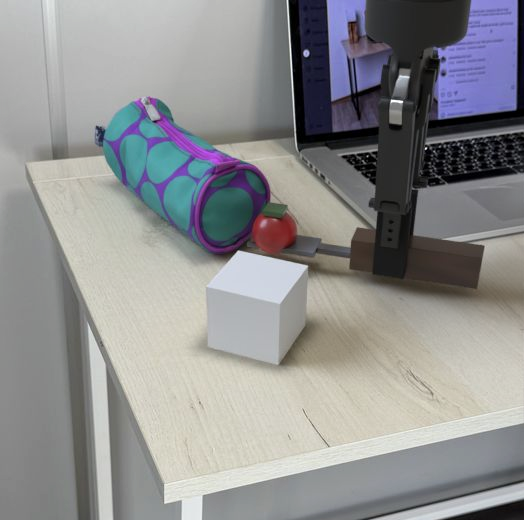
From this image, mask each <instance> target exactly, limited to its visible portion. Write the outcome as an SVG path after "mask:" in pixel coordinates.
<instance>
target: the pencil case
mask: <svg viewBox="0 0 524 520" xmlns="http://www.w3.org/2000/svg"><path fill="white" fill-rule="evenodd" d="M94 144H95V145H96V146H97V147H99V148H102V150H103V155H104V159H105V162H106V164H107V165H108V167H109V168H110V170H111V171H112V173H113V174H114V176H115V177H116V178H117V179H118V181H119V182H120V183H121V184H122V185H124V186H125V187H126V188H127V189H128V190H129V192H131V193H132V194H133V195H135V196H136V197H137V198H138V199H140V200H141V202H143V203H145V205H147V206H148V207H149V208H150V209H151V210H152V211H153V212H154V213H156V214H157V215H158V216H160V218H162V219H163V220H165V221H166V222H168V223H169V224H170V225H171V226H173V227H174V228H176V229H177V230H179V231H180V232H181V233H182V234H183V235H185V236H186V237H188V238H190V239H191V241H192V242H194V243H195V244H198V245H199V246H200V247H201V248H202V249H204V250H205V251H206V252H209V253H212V254H218V255H225V254H228V253H231V252H233V251H235V250H237V249H238V248H240V247H241V246H242V245H243V244H244V243H245V242H246V241H247V240H248V239H249V238H251V236H252V228H253V224H254V222H255V220H256V218H257V217H258V216H259V215H260V214H261V213H262V211H263V209H264V208H265V206H266V205H267V203H268V202H271V199H272V198H271V197H272V196H271V193H272V192H271V186H270V183H269V181H268V179H267V178H266V176H265V174H264V173H263V172H262V170H260V169H259V168H258V167H257V166H256V165H254V164H252V163H250V162H248V161H245V160H242V159H240V158H237V157H233V156H231V155H230V154H229V153H227V152H223V151H221V150H219V149H217V148H216V147H214V146H213V145H212V144H211V143H209V142H207V141H206V140H205V139H204V138H202V137H200V136H197V135H195V134H194V133H192V132H190V131H189V130H187V129H185V128H183V127H181V126H180V125H178V124H176V123H175V120H174V117H173V115H172V112H171V109H170V108H169V106H168V105H167V104H165V102H163V101H162V100H161V99H159V98H157V97H150V96H147V95H144V96H143V97H142V98H141V97H140V98H138V100H135V101H134V100H132V101H131V102H129V103H128V104H127V105H124V106H123V107H122V108H120V109H119V110H118V111H116V112H115V114H114V115H113V116H112V118H111V120H110V121H109V123H108V125H107V127H106V126H104V125H101V126H100V125H95V127H94Z"/></svg>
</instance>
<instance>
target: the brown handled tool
mask: <svg viewBox="0 0 524 520" xmlns="http://www.w3.org/2000/svg"><path fill="white" fill-rule="evenodd" d="M288 205H289V204H284V203H276V202H271V201H270V202H268V203H267V205H266V206H265V208H264V209H263V211H262V213H261V214H260V215H259V216H258V217H257V218H256V220H255V222H254V224H253V228H252V235H251V236H250V240H248V241H247V242H246V247H248V248H254V249H259V250H261V251H262V252H264V253H266V254H269V255H280V254H285V255H291V256H292V255H293V256H298V257H299V256H300V257H306V258H312V259H313V258H314V259H315V257H316V254H317V255H318V254H319V255H324V256H331V257H336V258H337V257H338V258H343V259H349V263H348V264H349V265H348V270H350V271H357V272H363V273H369V274H372V269H373V258H374V246H375V234H376V229H373V228H365V227H359V226H358V227H356V229H355V230H354V232H353V234H352V237H351V239H350V246H344V245H337V244H331V243H324V242H322V241H323V239H322V238H321V237H314V236H308V235H300V234H298V226H297V223H296V221H295V218H294V217H293V216H292V215H291V214H290V213H289V212H287V211H288V207H289V206H288ZM485 247H486V246H485V244H478V243H471V242H463V241H457V240H449V239H443V238H435V237H428V236H420V235H415V234H413V235H409V242H408V251H407V260H406V269H405V276H404V279H408V280H415V281H421V282H426V283H434V284H440V285H447V286H453V287H458V288H459V287H460V288H464V289H465V288H467V289H472V290H473V289H474V290H477V289H478V287H479V281H480V276H481V271H482V265H483V259H484V254H485Z"/></svg>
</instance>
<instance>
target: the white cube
mask: <svg viewBox="0 0 524 520" xmlns="http://www.w3.org/2000/svg"><path fill="white" fill-rule="evenodd" d="M308 280H309V265H308V264H303V263H298V262H293V261H288V260H284V259H279V258H275V257H271V256H267V255H261V254H257V253H251V252H247V251H243V250H237V251H236V253H234V255H233V256H232V257H231V258H230V259H229V260H228V261H227V262H226V263H225V264H224V265H223V266H222V268H220V270H219V271H218V272H217V273H216V274H215V276H214V277H213V278H212V279H211V280H210V281H209V283H208V284H207V285H205V298H206V299H205V300H206V301H205V302H206V330H207V331H206V332H207V334H206V335H207V348H209V349H214V350H217V351H221V352H225V353H229V354H233V355H236V356H240V357H245V358H249V359H252V360H256V361H259V362H260V361H261V362H264V363H268V364H272V365H276V366H279V365H280V363H281V362H282V361H283V359H284V357H285V356H286V355H287V354H288V352H289V350H290V349H291V348H292V346H293V344H294V343H295V342H296V340H297V338H298V337H299V335H300V334H301V333H302V331H303V329H304V328H305V327H306V322H307V303H308V302H307V301H308V284H309V283H308V282H309V281H308Z"/></svg>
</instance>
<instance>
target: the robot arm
mask: <svg viewBox="0 0 524 520" xmlns="http://www.w3.org/2000/svg"><path fill="white" fill-rule="evenodd" d="M471 6H472V0H365V10H364V24H363V25H364V27H363V28H364V32H365V33H366V35H367V36H368V37H369V38H370V39H372V40H373V41H375V42H376V43H379V44H385V45H387V46H388V47H389V48H391V49H392V53H389V54H388V58H387V62H386V63H387V64H386V63H383V65H382V67H381V73H380V83H379V84H380V89H381V90H382V95H381V96H380V98H379V100H378V102H377V109H378V138H377V139H378V141H377V156H376V157H377V158H376V169H375V170H376V172H375V186H374V188H375V189H374V197H370V199H369V201H368V208H370V209H373V211H375V212H376V225H375V230H376V234H375V246H374V258H373V269H372V273H371V275H374V276H381V277H386V278H393V279H399V280H404V279H405V278H404V276H405V269H406V260H407V251H408V242H409V235H414V232H415V222H416V214H417V206H418V198H419V197H418V196H419V189H413V187H416V188H423V189H424V188H425V189H427V187H428V183H429V176H425V175H424V176H423V175H421V172H422V170H424V167H425V160H424V159H425V150H426V143H427V137H428V136H427V135H428V127H429V119H430V114H431V111H432V108H433V104H434V99H435V90H436V89H435V88H436V83H437V81H438V78H439V76H440V73H441V64H442V59H441V58H440V55H439V50H438V49H441V48H442V49H443V48H447V47H450V46H454V45H456V44H458V43H460V42H461V41H462V40H463V39H465V37H466V36H467V34H468V29H469V21H470V13H471ZM435 48H437V49H435Z"/></svg>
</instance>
